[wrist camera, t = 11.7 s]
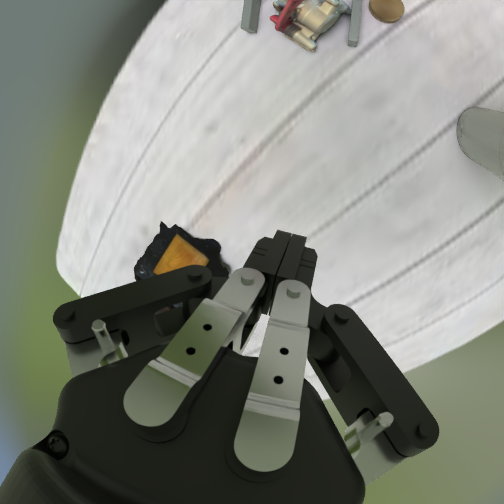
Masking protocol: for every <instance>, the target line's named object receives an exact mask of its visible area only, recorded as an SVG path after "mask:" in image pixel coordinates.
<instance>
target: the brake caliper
mask: <svg viewBox="0 0 504 504" xmlns="http://www.w3.org/2000/svg"><path fill="white" fill-rule="evenodd" d="M273 6H274V8H275V9H276V10H277V11H278V12H279V13H280V14H279V15H273V16H271V17H270V20H271V21H273V22H274V23H276V26H275V29H276V30H277V31H281V32H282V33H284V34H285V35H286V36H287V37H288V38H289V39H291V40H293V41H295V42H296V43H298V44H299V45H300V46H302V47H303V48H305V49H306V50H308V51H312V52H314V51H315V47H316V44H315V42H314V40H316V39H317V38H318V36H319V34H320V33H324V32H325V31H326V30H328V29H329V28H330V27H331V26H332V25H333V24H334V23H335V22H336V21H337V20H338V19H339V18H340V15H341V14H342V13H346V14H351V13H352V10H351V9H350V8H349V6H348V5H347V4H346V3H345V2H343V1H342V0H278V1H277V2H273Z"/></svg>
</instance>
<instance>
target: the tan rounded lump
mask: <svg viewBox="0 0 504 504" xmlns="http://www.w3.org/2000/svg"><path fill="white" fill-rule="evenodd" d="M369 10H370V12H371V14H372V15H373V16H374V17H375V18H376V19H377V20H379V21H381V22H384V23H394V22H396V21H398V20H399V18H400V17H401V16H402V15H403V13H404V5H403V3H402V1H401V0H370V2H369Z"/></svg>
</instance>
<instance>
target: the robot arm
mask: <svg viewBox="0 0 504 504" xmlns="http://www.w3.org/2000/svg"><path fill="white" fill-rule="evenodd" d="M457 137H458V142H459V144H460V147H461V148H462V150H463V152H464V153H465V154H466V155H467V156H468V157H469V158H470V159H472V160H474V161H475V162H477V163H478V164H480V165H481V166H483V167H484V168H486V169H487V170H489V171H490V172H492V173H493V174H495V175H496V176H498V177H499V178H500V179H502V180H503V181H504V113H503V112H498V111H494V110H489V109H484V108H479V107H472V108H469V109H467V110H465V111H464V112H463V113H462V115H461V116H460V118H459V121H458V124H457ZM291 235H292V237H291ZM306 238H307V237H304V236H300V235H296V234H292V233H288V232H284V231H280V230H277V232H276V234H275V236H274V238H273V239H272V238H268V237H264V238H262V239H260V240H259V241H258V242H257V243H256V245H255V247H254V249H253V250H252V253H251V254H250V256H249V257H248V259H247V261H246V263H245V264H244V266H243V268H240V269H237V270H235V271H234V272H233V273H232V275H231V276H230V277H212V273H211V271H210V270H209V269H208V268H207V267H205V266H202V265H188V266H185V267H182V268H179V269H175V270H172V271H169V272H165V273H162V274H159V275H155V276H152V277H149V278H146V279H142V280H139V281H136V282H133V283H129V284H126V285H123V286H120V287H116V288H113V289H110V290H107V291H103V292H100V293H97V294H94V295H90V296H87V297H84V298H81V299H78V300H74V301H71V302H68V303H65V304H63V305H61V306H60V307H58V308H57V310H56V311H55V313H54V315H53V322H54V324H55V326H56V328H57V330H58V331H59V333H60V336H61V338H62V340H63V342H64V343H65V345H66V350H67V355H68V360H69V365H70V369H71V374H72V379H71V380H70V381H69V382H68V383H67V384H66V385H65V386H64V388H63V389H62V391H61V393H60V397H59V402H58V409H57V415H56V419H55V423H54V425H53V428H52V430H51V432H50V433H49V435H48V436H47V437H46V438H44V439H43V440H42V441H40V442H39V443H37V444H36V445H34V446H32V447H30V448H28V449H27V450H25V451H23V452H22V453H21V454H20V455H19V456H18V458H17V459H16V461H15V463H14V464H13V466H12V468H11V469H10V471H9V473H8V474H7V476H6V478H5V480H4V481H3V483H2V485H1V486H0V504H362V503H363V501H364V497H365V486H367V485H368V484H370V483H371V482H373V481H374V480H376V479H377V478H379V477H380V476H382V475H383V474H385V473H386V472H388V471H389V470H391V469H392V468H393V467H395V466H396V465H397V464H399V463H401V462H403V461H405V460H407V459H409V458H411V457H413V456H415V455H417V454H419V453H421V452H423V451H424V450H426V449H428V448H430V447H431V446H433V445H434V444H435V442H436V441H437V439H438V436H439V426H438V423H437V421H436V420H435V418H434V417H433V415H432V414H431V413H430V411H429V410H428V408H427V407H426V405H425V404H424V403H423V401H422V400H421V398H420V397H419V396H418V394H417V393H416V392H415V390H414V389H413V387H412V386H411V385H410V383H409V382H408V380H407V379H406V378H405V377H404V375H403V374H402V372H401V371H400V370H399V368H398V367H397V366H396V364H395V363H394V362H393V360H392V359H391V358H390V356H389V355H388V354H387V352H386V351H385V350H384V349H383V347H382V346H381V345H380V343H379V342H378V341H377V339H376V338H375V337H374V336H373V334H372V333H371V332H370V331H369V329H368V328H367V327H366V325H365V324H364V323H363V322H362V320H361V319H360V318H359V317H358V315H357V314H356V313H355V312H354V311H353V310H352V309H351V308H349V307H348V306H345V305H342V304H333V305H330V306H329V307H325V306H323V305H321V304H320V303H318V302H317V301H316V300H315V299H314V298H313V296H312V294H311V286H312V281H313V277H314V272H315V267H316V262H317V257H318V256H317V254H316V252H315V249H311V248H307V247H305V243H306ZM180 302H181V305H182V306H179V307H177V308H174V309H171V310H168V311H165V312H162V313H159V314H156V315H155V313H156V312H157V311H158V310H160V309H163V308H166V307H169V306H172V305H174V304H177V303H180ZM269 308H270V310H269ZM268 311H269V316H270V318H269V321H268V324H267V328H266V332H265V336H264V340H263V343H262V347H261V351H260V354H259V357H249V356H242V353H243V351H244V349H245V347H246V345H247V343H248V342H249V340H250V338H251V336H252V334H253V332H254V330H255V328H256V326H257V322H258V321H259V319H260V316H261V314H266V315H267V313H268ZM306 358H308V361H309V363H310V364H311V366H312V368H313V369H314V371H315V373H316V375H317V376H318V378H319V380H320V381H321V383H322V385H323V386H324V388H325V390H326V391H327V393H328V395H329V396H330V398H331V400H332V401H333V403H334V405H335V406H336V408H337V410H338V411H339V413H340V414H341V416H342V418H343V419H344V421H345V423H346V424H347V426H348V428H347V430H346V432H345V435H344V440H345V442H344V441H343V439H342V437H341V435H340V433H339V431H338V429H337V428H336V426H335V424H334V422H333V420H332V418H331V416H330V415H329V413H328V411H327V409H326V407H325V405H324V403H323V401H322V399H321V398H320V396H319V394H318V392H317V391H316V390H315V388H314V387H313V386H312V385H311V384H310V383H309V382H308V381H307V380H306V379H305V378H304V373H305V365H306Z"/></svg>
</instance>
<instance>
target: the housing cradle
mask: <svg viewBox="0 0 504 504" xmlns="http://www.w3.org/2000/svg"><path fill="white" fill-rule="evenodd" d="M260 3H261V0H244V7H243V14H242V22H241V29H243V30H245V31H247V32H248V33H257V27H258V19H259V11H260ZM360 12H361V0H353V2H352V13H351V23H350V32H349V40H348V45H349V46H354V47H356V45H357V40H358V31H359V22H360Z"/></svg>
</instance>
